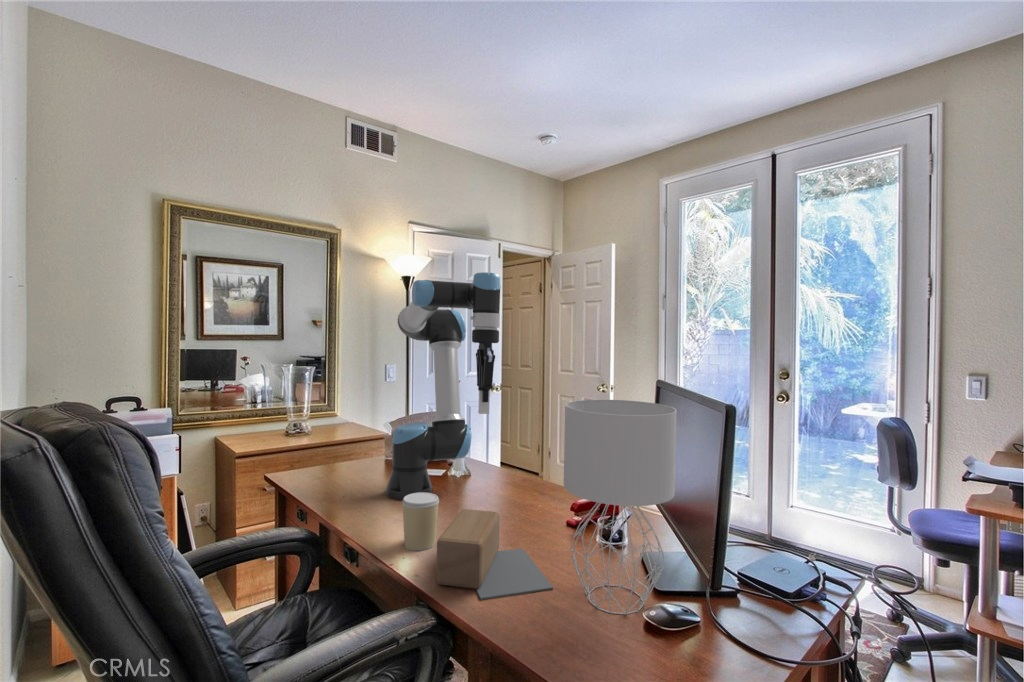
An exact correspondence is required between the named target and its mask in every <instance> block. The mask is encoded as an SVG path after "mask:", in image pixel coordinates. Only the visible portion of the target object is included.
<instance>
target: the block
mask: <svg viewBox="0 0 1024 682" xmlns="http://www.w3.org/2000/svg"><path fill="white" fill-rule="evenodd" d="M499 549H500V513H499V512H498V511H492V510H491V511H489V510H482V509H481V510H480V509H479V510H478V509H467V508H466V509H465V508H464V509H461V510H460V512H459V513H458V514H457V515H456V516H455V518H454V519H453V521H452V522H450V524H449V525H448V526H447V527H446V529H445V530H444V531H443V533H442V534H440V536H439V537H438V538H437V541H436V568H435V570H436V572H435V573H436V575H435V576H436V577H435V578H436V579H435V580H436V584H438V585H441V586H443V585H444V586H451V587H460V588H467V589H468V588H469V589H475V590H476V588H479V587H480V586H481V584H482V582H483V580H484V578H485V576H486V574H487V572H488V570H489V568H490V566H491V564H492V562H493V560H494V558H495V556H496V553H497V551H499Z"/></svg>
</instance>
